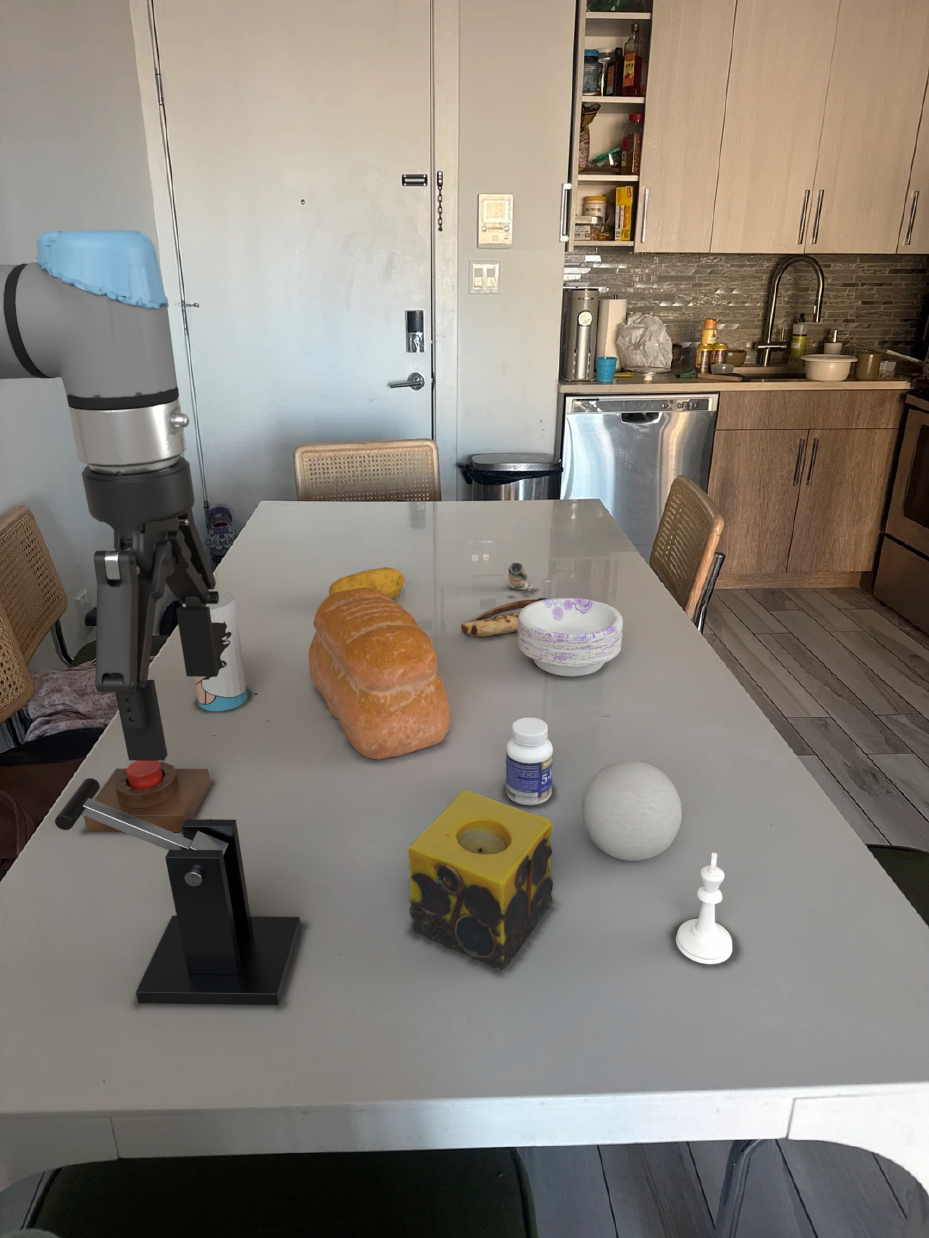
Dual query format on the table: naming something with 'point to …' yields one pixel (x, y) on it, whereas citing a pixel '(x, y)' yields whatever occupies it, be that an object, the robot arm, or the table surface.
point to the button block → (155, 797)
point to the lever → (128, 822)
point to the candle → (481, 878)
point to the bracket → (217, 931)
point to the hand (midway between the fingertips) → (178, 713)
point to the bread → (378, 674)
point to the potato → (372, 581)
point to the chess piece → (706, 923)
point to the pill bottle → (529, 762)
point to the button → (144, 774)
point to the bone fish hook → (496, 620)
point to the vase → (518, 577)
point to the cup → (224, 660)
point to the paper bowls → (570, 635)
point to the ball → (631, 810)
